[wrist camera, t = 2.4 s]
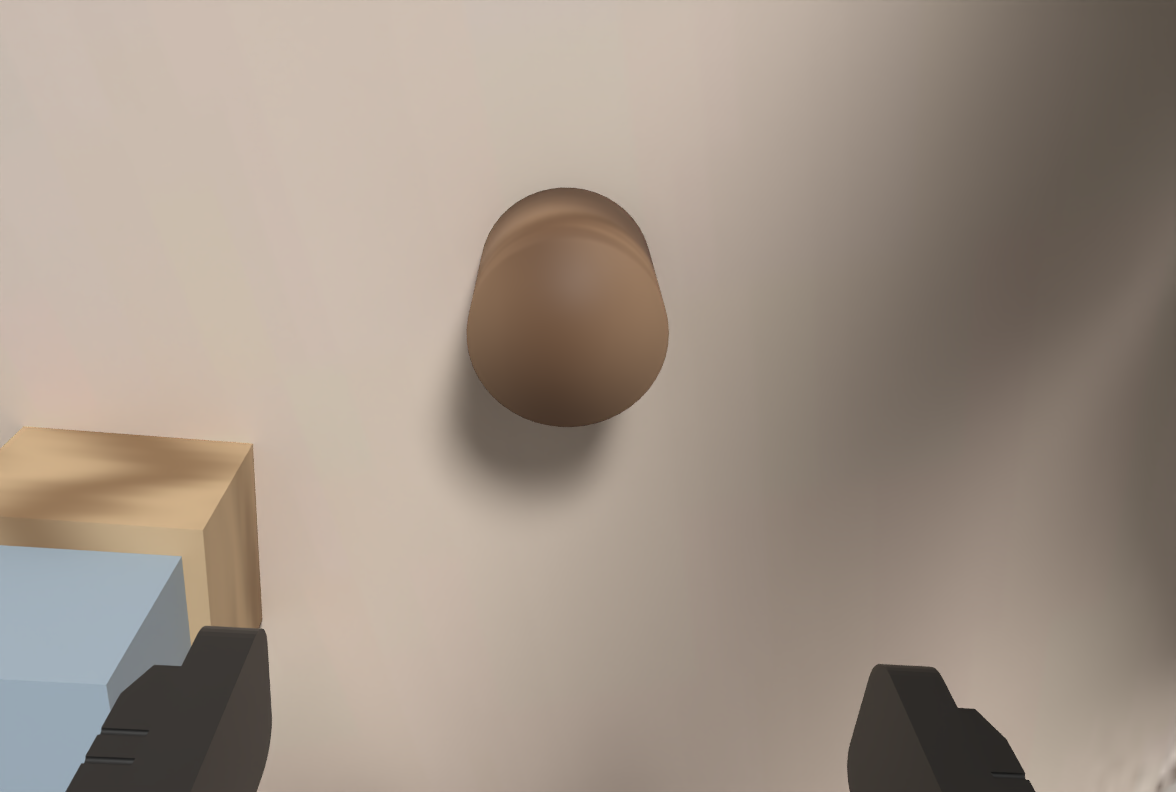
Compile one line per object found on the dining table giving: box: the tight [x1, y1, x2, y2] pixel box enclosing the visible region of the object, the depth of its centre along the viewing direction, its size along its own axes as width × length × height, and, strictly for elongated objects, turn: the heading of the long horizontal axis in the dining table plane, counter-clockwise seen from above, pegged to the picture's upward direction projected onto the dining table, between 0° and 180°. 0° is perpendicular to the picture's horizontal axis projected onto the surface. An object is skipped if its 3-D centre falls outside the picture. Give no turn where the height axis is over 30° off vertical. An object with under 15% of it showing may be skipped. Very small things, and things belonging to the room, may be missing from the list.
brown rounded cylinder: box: [467, 188, 669, 427], centre depth 26 cm, size 5×5×5 cm
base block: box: [0, 427, 262, 646], centre depth 30 cm, size 7×7×5 cm
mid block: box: [0, 545, 191, 792], centre depth 26 cm, size 6×6×5 cm
